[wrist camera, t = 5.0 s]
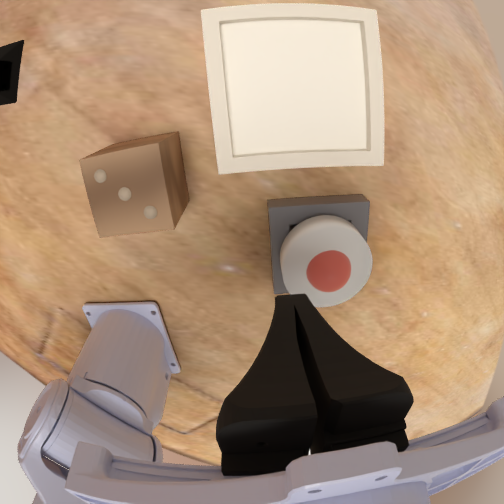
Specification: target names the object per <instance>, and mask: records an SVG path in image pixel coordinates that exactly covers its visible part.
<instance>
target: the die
mask: <svg viewBox="0 0 504 504" xmlns="http://www.w3.org/2000/svg"><path fill="white" fill-rule="evenodd" d="M79 162H80V166H81V171H82V175H83V179H84V183H85V187H86V191H87V195H88V199H89V203H90V206H91V210H92V214H93V217H94V221H95V224H96V227H97V231H98V234H99V237H100V238H103V237H112V236H120V235H128V234H137V233H146V232H155V231H164V230H173V229H175V227H176V225H177V223H178V221H179V219H180V217H181V215H182V214H183V212H184V210H185V208H186V206H187V204H188V202H189V195H188V189H187V183H186V177H185V171H184V165H183V158H182V151H181V145H180V138H179V132H173V133H167V134H161V135H156V136H150V137H145V138H140V139H135V140H130V141H126V142H121V143H117V144H113V145H110V146H108V147H106V148H104V149H101V150H99V151H97V152H95V153H93V154H91V155H89V156H87V157H85V158H83V159H81V160H79Z"/></svg>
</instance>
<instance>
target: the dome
mask: <svg viewBox="0 0 504 504" xmlns="http://www.w3.org/2000/svg"><path fill="white" fill-rule="evenodd" d="M372 262H373V261H372V254H371V250H370V248H369V246H368V244H367V243H366V241H365V240H364V238H363V237H362V236H361V234H360V233H359V232H358V230H357V229H356V228H355V227H354V225H352V224H351V223H350V222H349V221H347V220H345V219H343V218H341V217H337V216H332V215H321V216H315V217H312V218H309V219H306V220H304V221H303V222H301V223H299V224H298V225H297V226H295V227H294V228H293V229H292V230H291V231H290V232H289V234H288V235H287V236H286V238H285V240H284V242H283V244H282V247H281V251H280V264H281V270H282V276H283V281H284V284H285V287H286V289H287V290H288V292H289V293H290V295H291V294H304V293H305V294H306V295H307V296H308V298H309V299H310V301H311V302H312V304H313V305H314V307H330V306H334V305H338V304H341V303H343V302H345V301H347V300H349V299H350V298H352V297H353V296H355V295H356V294H357V293H358V292H359V291H360V290H361V289H362V288H363V287H364V285H365V284H366V282H367V281H368V278H369V276H370V274H371V270H372Z"/></svg>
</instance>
